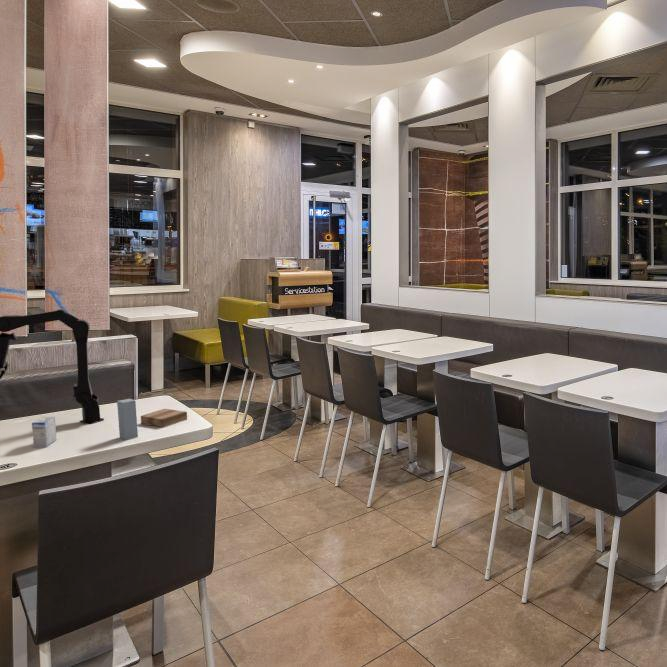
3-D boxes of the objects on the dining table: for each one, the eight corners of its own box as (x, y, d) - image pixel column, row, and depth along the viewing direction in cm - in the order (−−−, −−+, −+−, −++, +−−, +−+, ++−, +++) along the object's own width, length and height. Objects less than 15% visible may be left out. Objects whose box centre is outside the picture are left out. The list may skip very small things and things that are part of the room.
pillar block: (119, 437, 193) (117, 400, 191) (132, 434, 196) (129, 398, 194) (125, 439, 190) (122, 402, 188) (137, 436, 193) (135, 400, 191)
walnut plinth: (187, 419, 214) (186, 411, 214) (163, 427, 204) (163, 419, 203) (165, 416, 220) (164, 408, 220) (141, 423, 210) (140, 415, 209)
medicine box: (43, 440, 191) (41, 416, 190) (57, 440, 191) (55, 415, 190) (33, 448, 183) (31, 422, 182) (47, 447, 184) (45, 422, 183)
